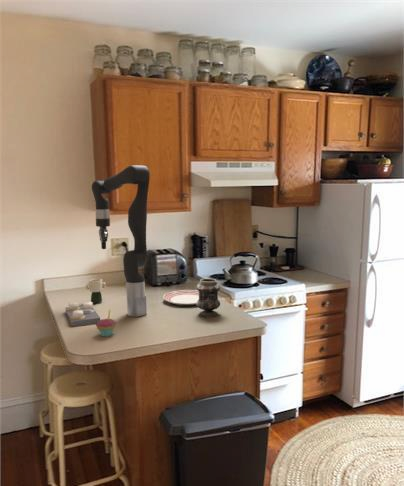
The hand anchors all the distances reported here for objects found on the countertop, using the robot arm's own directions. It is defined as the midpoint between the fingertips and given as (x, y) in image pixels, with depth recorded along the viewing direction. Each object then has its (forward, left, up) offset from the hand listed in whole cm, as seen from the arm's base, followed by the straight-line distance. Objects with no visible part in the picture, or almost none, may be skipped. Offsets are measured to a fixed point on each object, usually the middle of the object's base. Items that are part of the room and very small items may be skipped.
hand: (103, 248), depth 233 cm
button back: (-3, +22, -28) cm, 36 cm away
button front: (-17, +29, -28) cm, 44 cm away
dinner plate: (-31, -33, -32) cm, 56 cm away
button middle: (-13, +20, -27) cm, 36 cm away
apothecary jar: (-57, -21, -31) cm, 69 cm away
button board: (-11, +23, -31) cm, 40 cm away
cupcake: (-42, +30, -31) cm, 60 cm away
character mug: (+7, +2, -31) cm, 32 cm away
